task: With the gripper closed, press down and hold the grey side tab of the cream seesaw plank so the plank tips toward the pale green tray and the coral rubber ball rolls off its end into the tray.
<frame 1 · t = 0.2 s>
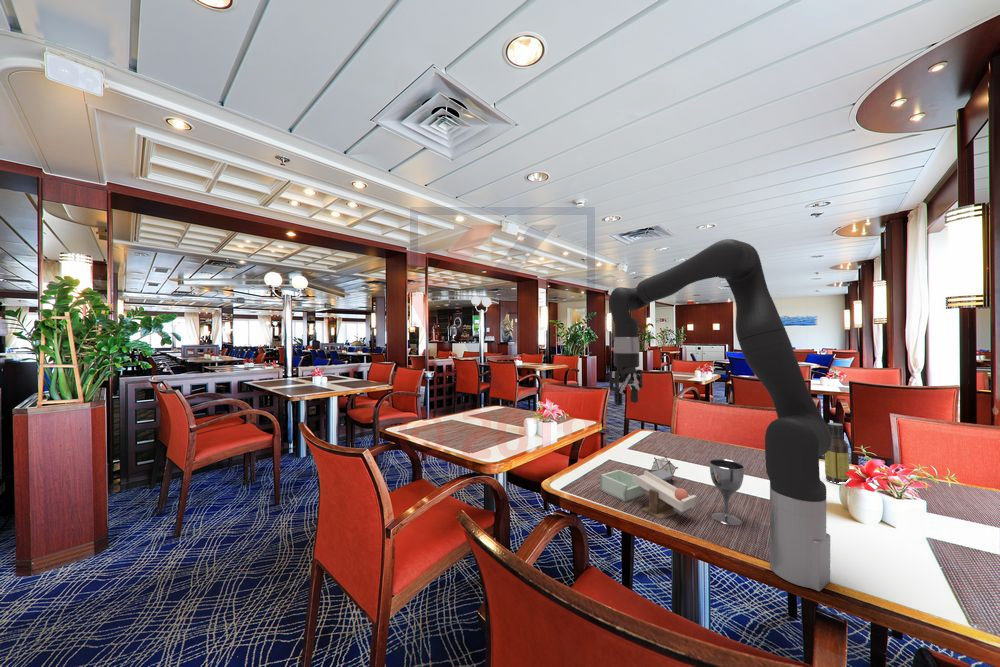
hand: (626, 403, 114), 29 cm above the table, fingers open, 8 cm apart
fulcrum: (662, 510, 105), on the table
ball: (681, 494, 100), point 7 cm above the table, tilted 14°, touching lever
sauce bottle: (836, 482, 126), on the table
grey geometric polyhedron: (663, 481, 126), on the table
tray: (622, 492, 117), on the table
wine glass: (726, 519, 100), on the table
lever: (671, 487, 107), point 6 cm above the table, hinge at -10.0°, touching ball
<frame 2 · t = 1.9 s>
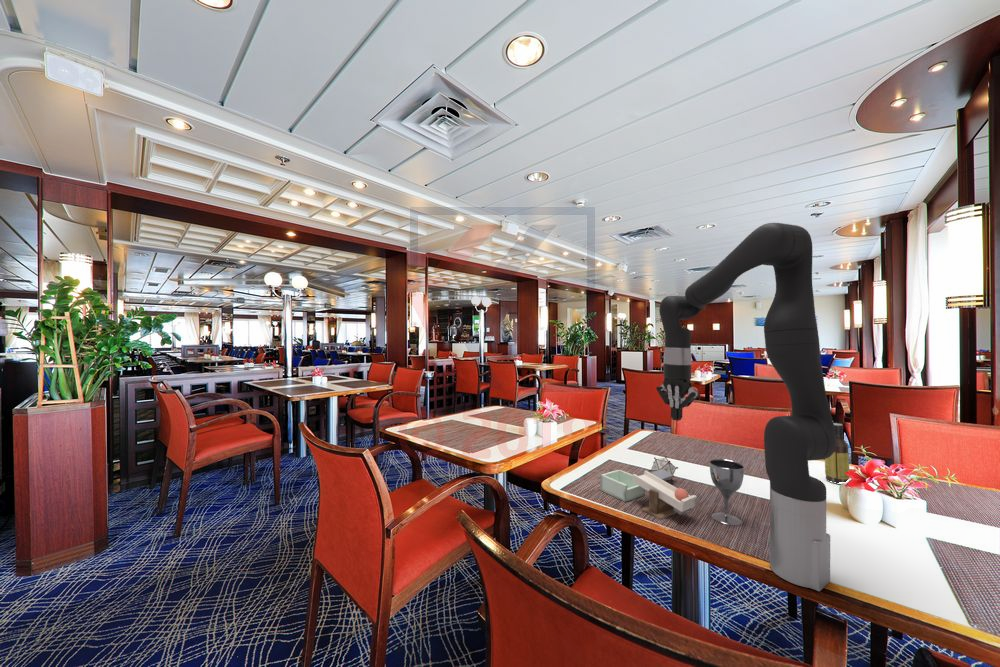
hand: (676, 419, 110), 25 cm above the table, fingers closed
nothing on the table moved.
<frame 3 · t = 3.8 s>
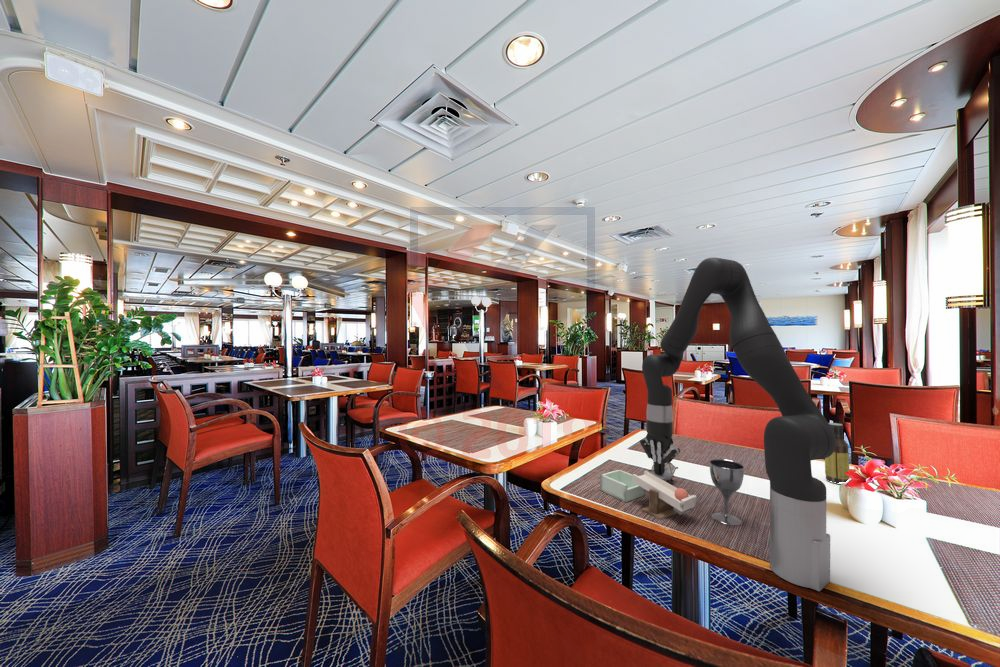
hand: (659, 474, 114), 7 cm above the table, fingers closed
ball: (681, 494, 100), point 7 cm above the table, tilted 14°
lever: (671, 487, 107), point 6 cm above the table, hinge at -9.8°, touching gripper
everything else where it was.
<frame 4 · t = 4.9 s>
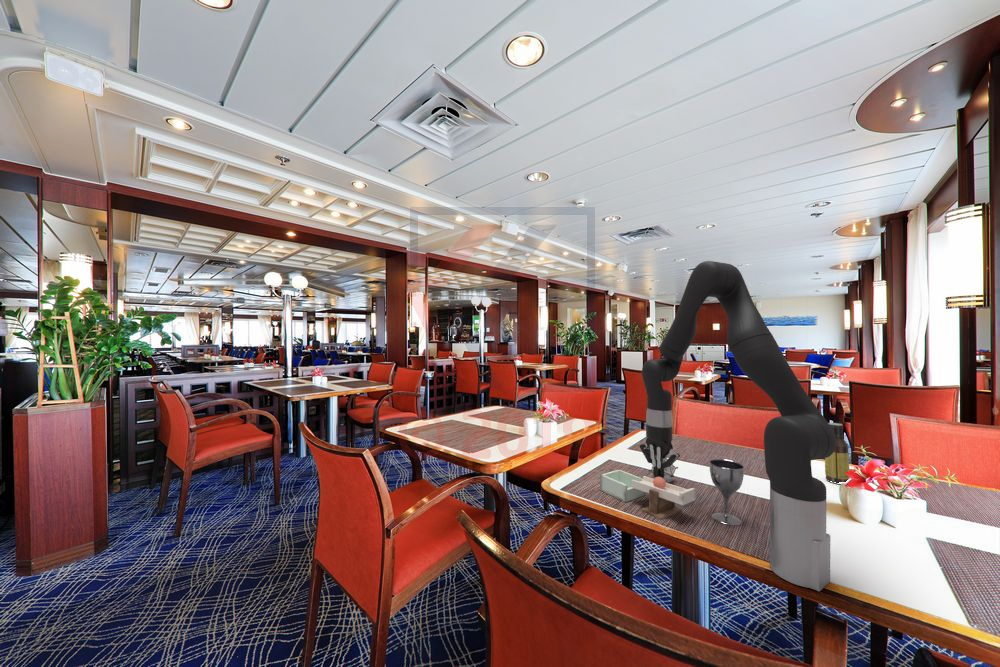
hand: (658, 478, 114), 5 cm above the table, fingers closed
ball: (659, 483, 105), point 8 cm above the table, tilted 150°, touching lever
lever: (670, 486, 107), point 6 cm above the table, hinge at 3.4°, touching ball, gripper
everything else where it was.
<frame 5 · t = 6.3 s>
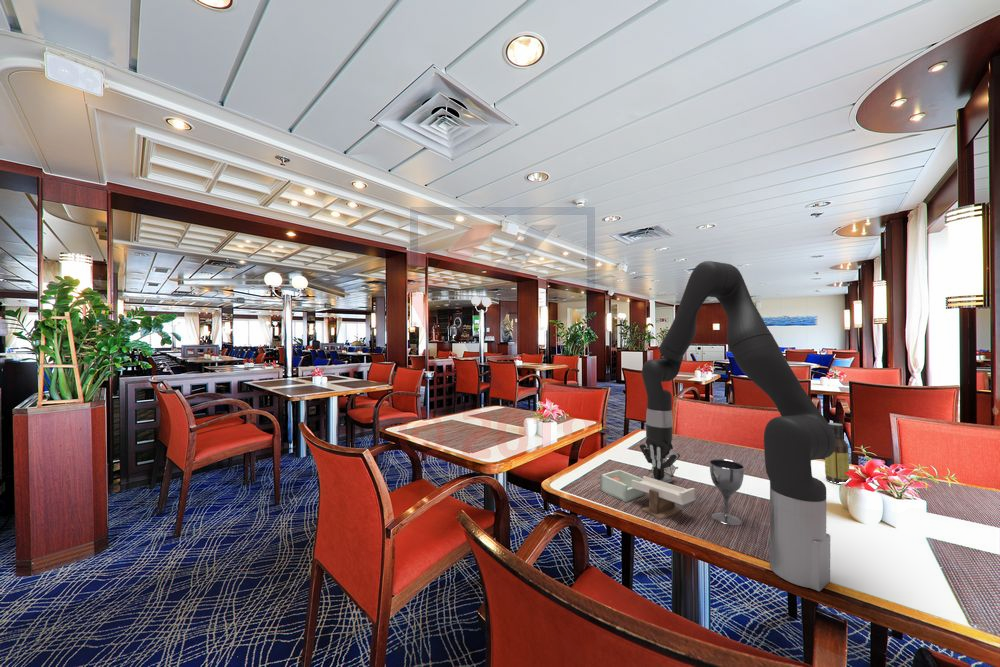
hand: (658, 478, 114), 5 cm above the table, fingers closed
ball: (616, 482, 119), point 2 cm above the table, tilted 46°, touching tray
lever: (670, 486, 107), point 6 cm above the table, hinge at 3.8°, touching gripper
everything else where it was.
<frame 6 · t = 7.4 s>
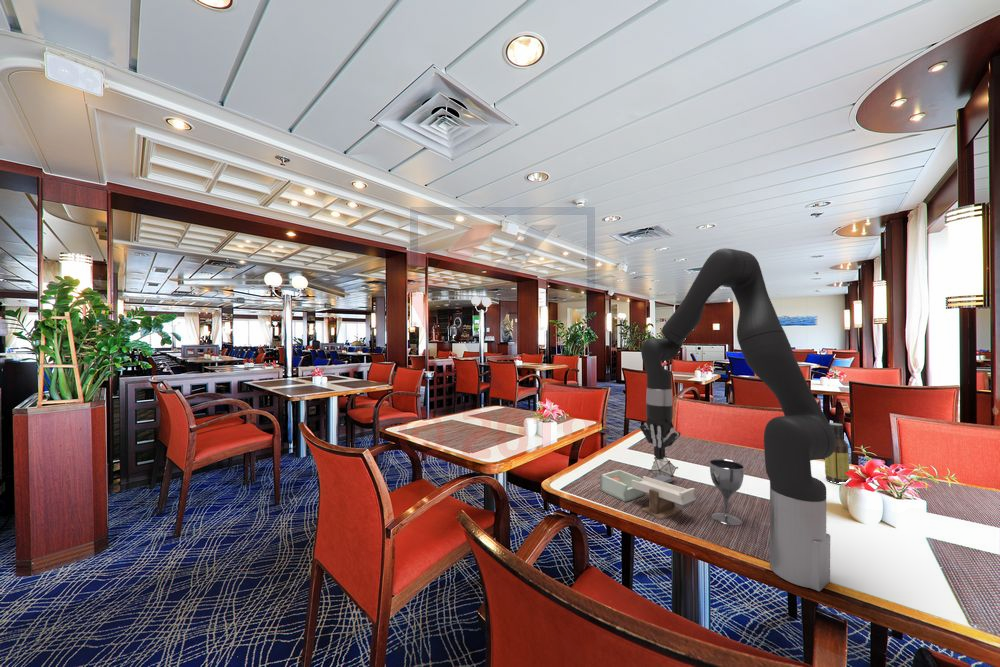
hand: (659, 458, 114), 12 cm above the table, fingers closed
lever: (670, 486, 107), point 6 cm above the table, hinge at 3.8°
everything else where it was.
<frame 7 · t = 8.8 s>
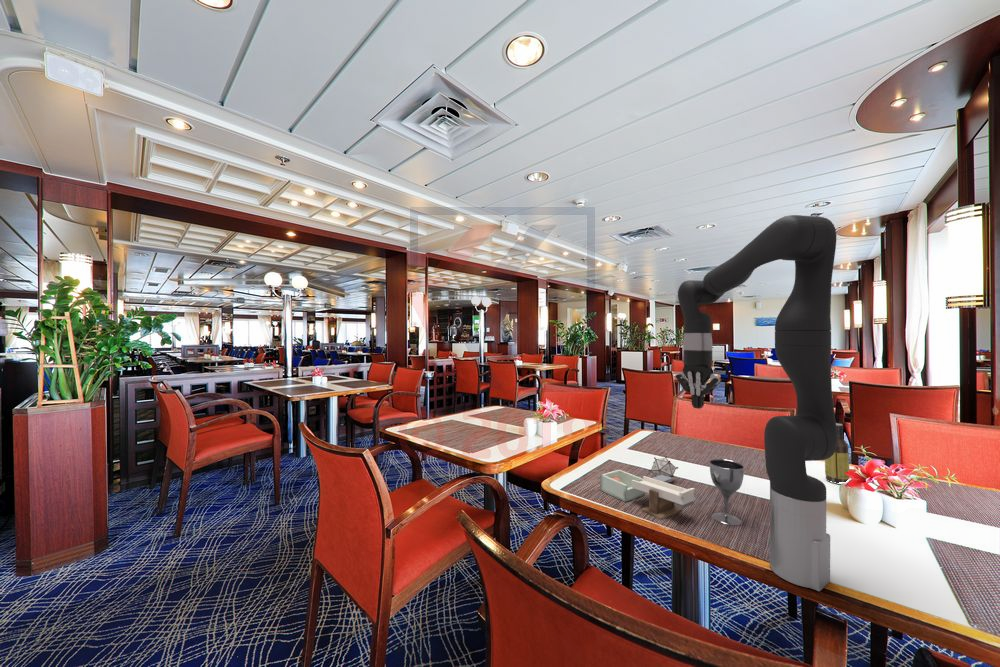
hand: (697, 407, 107), 29 cm above the table, fingers closed
nothing on the table moved.
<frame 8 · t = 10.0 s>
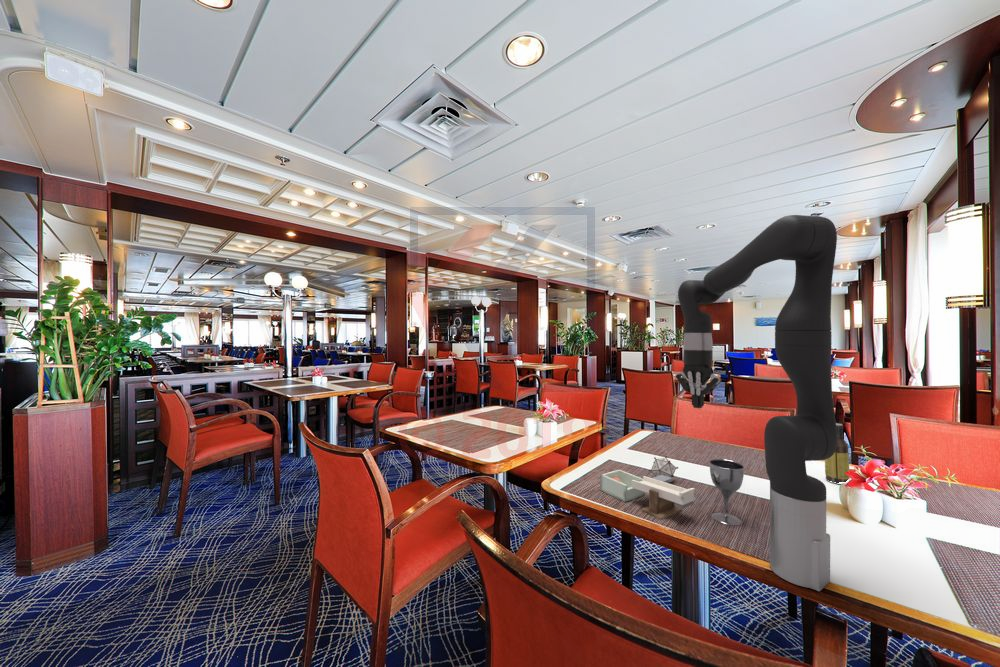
hand: (697, 407, 107), 29 cm above the table, fingers closed
nothing on the table moved.
at the end: ball inside the target area on the tray (2.5 cm from its centre), point 2.3 cm above the tray's base; ball touching tray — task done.
